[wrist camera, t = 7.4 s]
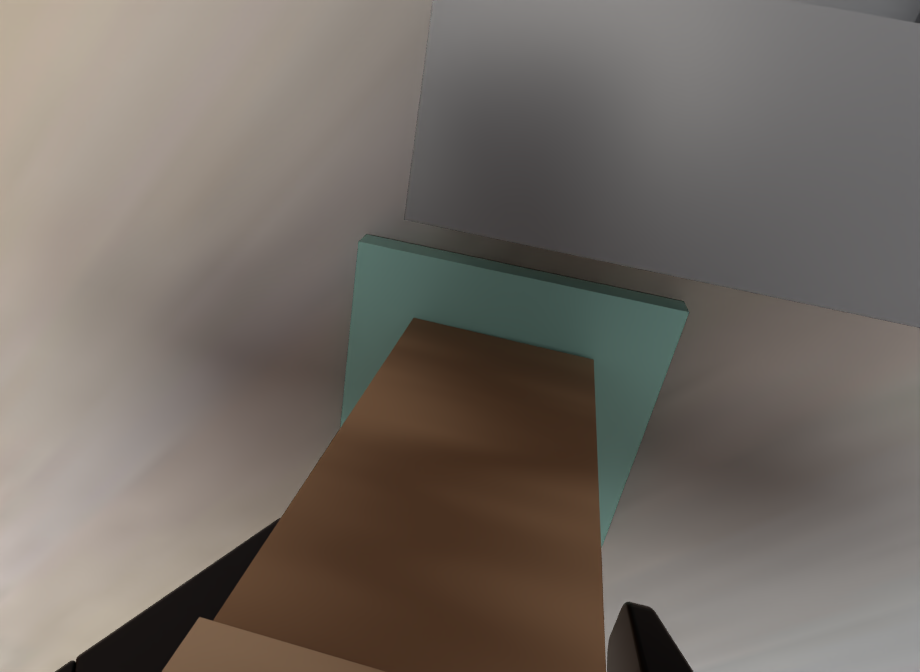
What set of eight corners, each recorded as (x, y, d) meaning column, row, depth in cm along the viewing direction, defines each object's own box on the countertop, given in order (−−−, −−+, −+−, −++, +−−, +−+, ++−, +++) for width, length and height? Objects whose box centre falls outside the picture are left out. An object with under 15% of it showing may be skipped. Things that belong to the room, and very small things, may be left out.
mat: (683, 301, 13) (688, 311, 12) (595, 542, 16) (597, 559, 15) (366, 234, 13) (358, 241, 12) (341, 481, 16) (333, 495, 16)
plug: (599, 356, 13) (626, 815, 5) (553, 506, 14) (521, 1008, 7) (409, 312, 13) (160, 673, 5) (388, 463, 15) (181, 892, 7)
